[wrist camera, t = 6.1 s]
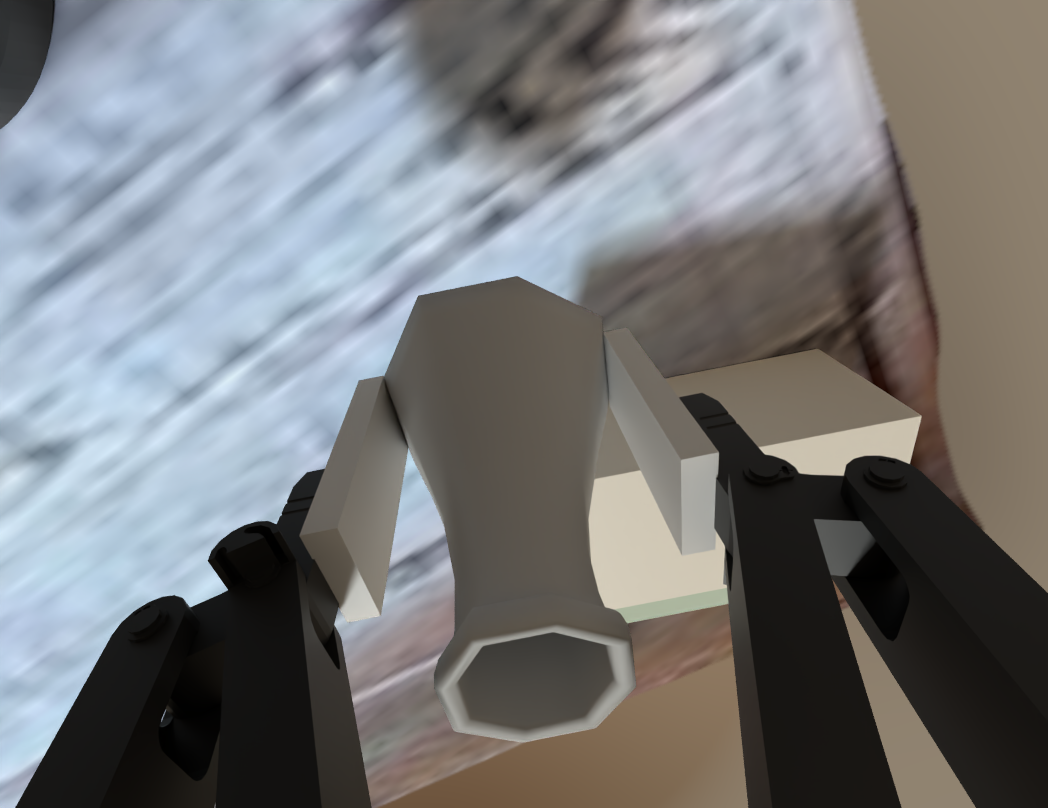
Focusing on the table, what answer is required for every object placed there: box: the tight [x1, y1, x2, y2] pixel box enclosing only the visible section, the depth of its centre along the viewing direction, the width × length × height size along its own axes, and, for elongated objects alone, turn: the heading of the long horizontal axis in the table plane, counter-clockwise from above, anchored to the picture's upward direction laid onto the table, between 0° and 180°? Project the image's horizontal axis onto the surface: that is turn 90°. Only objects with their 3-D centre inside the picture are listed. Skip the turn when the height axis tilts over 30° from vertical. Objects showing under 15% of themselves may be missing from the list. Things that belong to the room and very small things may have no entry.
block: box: [589, 349, 922, 609], centre depth 25 cm, size 8×14×7 cm, turn 100°
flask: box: [384, 276, 636, 742], centre depth 12 cm, size 7×7×10 cm
